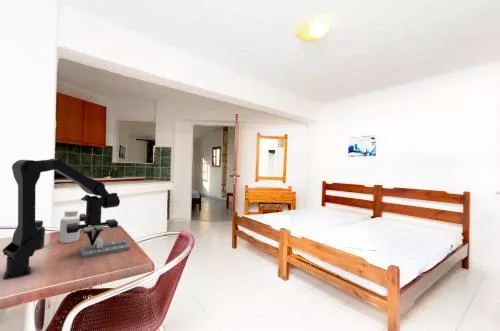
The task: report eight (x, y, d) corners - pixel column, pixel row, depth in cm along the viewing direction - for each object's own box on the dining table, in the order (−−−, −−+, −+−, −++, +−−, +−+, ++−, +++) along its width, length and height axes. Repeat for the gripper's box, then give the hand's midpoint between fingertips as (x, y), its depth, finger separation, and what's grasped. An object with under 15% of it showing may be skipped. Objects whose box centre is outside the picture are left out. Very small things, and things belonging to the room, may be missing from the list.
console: (129, 249, 109) (130, 244, 109) (82, 258, 97) (83, 252, 97) (122, 242, 118) (123, 237, 118) (78, 250, 106) (79, 244, 106)
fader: (103, 247, 105) (103, 239, 105) (96, 248, 103) (97, 240, 103) (100, 244, 108) (101, 236, 108) (94, 245, 107) (95, 237, 107)
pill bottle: (81, 237, 122) (83, 209, 122) (76, 242, 115) (78, 212, 115) (62, 238, 119) (64, 209, 119) (56, 244, 112) (58, 212, 112)
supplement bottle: (31, 251, 101) (33, 223, 101) (19, 249, 102) (20, 222, 103) (48, 246, 108) (49, 220, 108) (36, 244, 109) (37, 219, 109)
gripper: (113, 205, 116) (111, 236, 116) (65, 208, 104) (63, 243, 104) (119, 209, 108) (117, 243, 108) (68, 213, 95) (66, 251, 95)
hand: (92, 245), depth 104 cm, fingers closed
